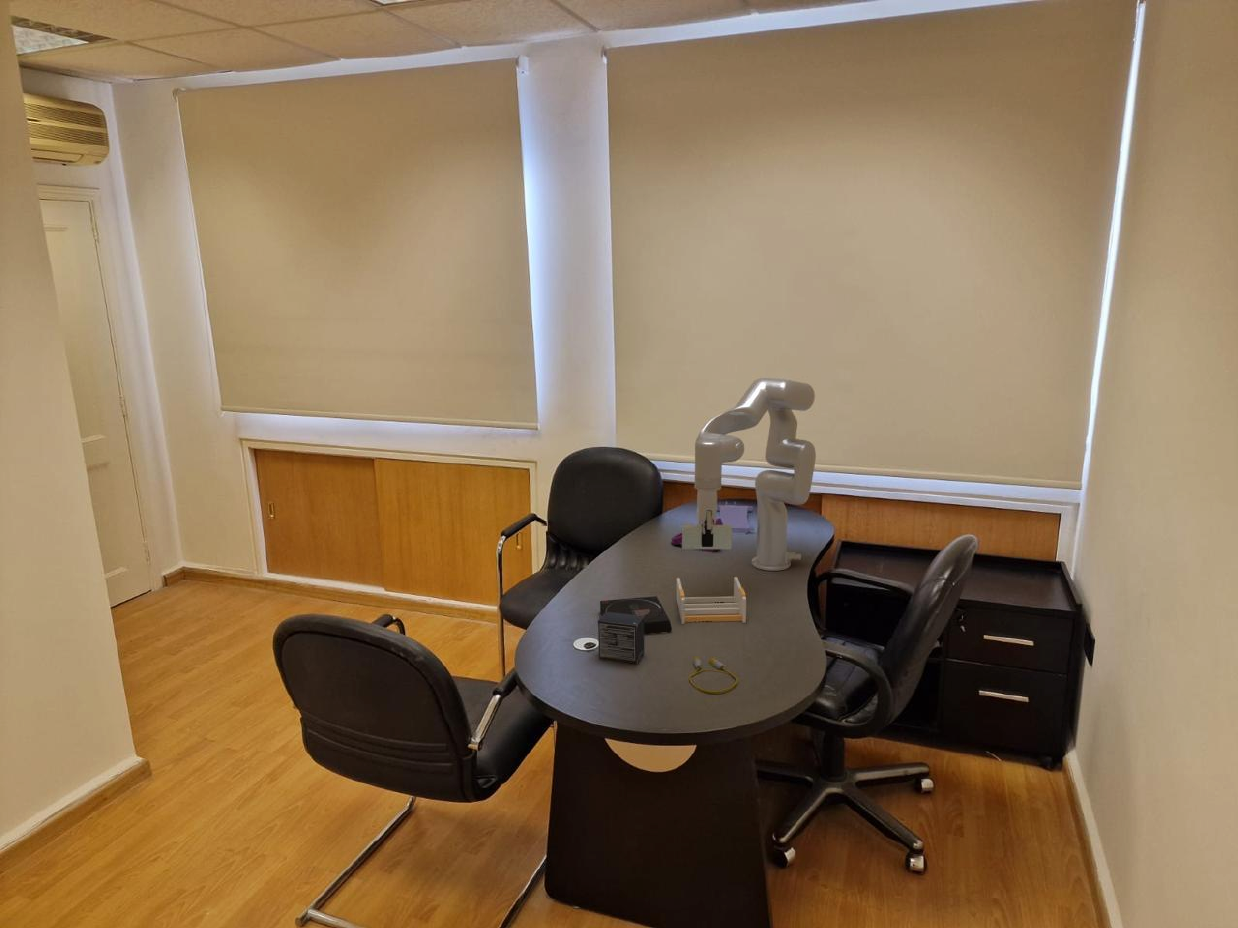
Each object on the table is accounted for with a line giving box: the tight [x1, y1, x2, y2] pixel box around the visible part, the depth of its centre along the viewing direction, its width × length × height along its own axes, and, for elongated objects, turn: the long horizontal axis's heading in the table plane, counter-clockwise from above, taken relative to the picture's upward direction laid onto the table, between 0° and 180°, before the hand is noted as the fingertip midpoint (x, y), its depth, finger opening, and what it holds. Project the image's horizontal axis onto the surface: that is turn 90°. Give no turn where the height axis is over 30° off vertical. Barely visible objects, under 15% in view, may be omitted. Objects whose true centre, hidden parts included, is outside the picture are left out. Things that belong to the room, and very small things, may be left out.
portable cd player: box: [599, 595, 673, 635], centre depth 222 cm, size 16×17×4 cm
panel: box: [681, 524, 733, 550], centre depth 231 cm, size 14×2×6 cm, turn 89°
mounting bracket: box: [671, 518, 723, 553], centre depth 283 cm, size 9×8×18 cm
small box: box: [597, 612, 645, 665], centre depth 202 cm, size 11×6×10 cm, turn 71°
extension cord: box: [688, 656, 739, 695], centre depth 192 cm, size 12×16×2 cm
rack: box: [676, 576, 747, 625], centre depth 228 cm, size 18×16×8 cm
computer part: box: [717, 501, 755, 534], centre depth 309 cm, size 30×4×15 cm
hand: (706, 544), depth 231 cm, fingers closed on panel, 2 cm apart
